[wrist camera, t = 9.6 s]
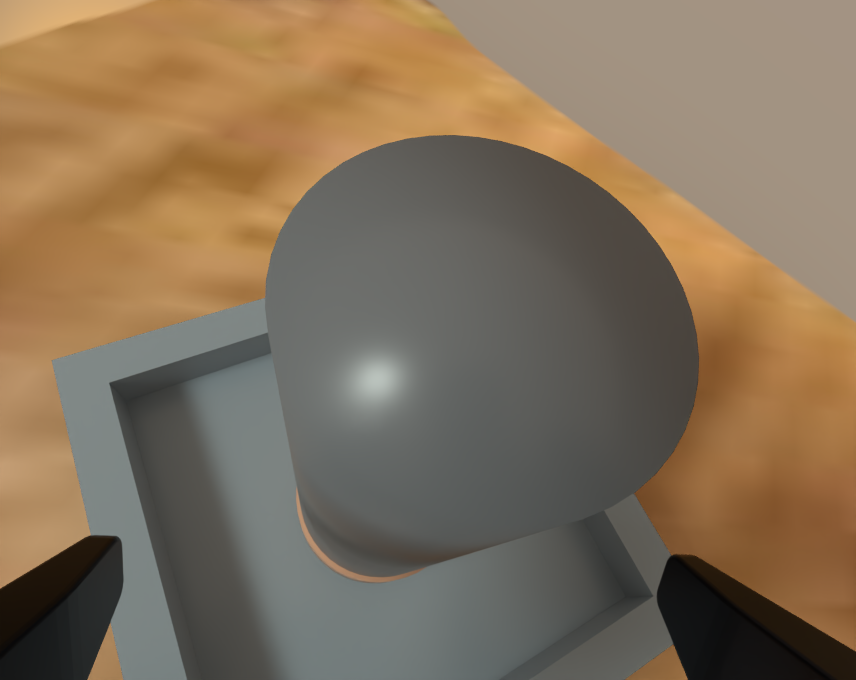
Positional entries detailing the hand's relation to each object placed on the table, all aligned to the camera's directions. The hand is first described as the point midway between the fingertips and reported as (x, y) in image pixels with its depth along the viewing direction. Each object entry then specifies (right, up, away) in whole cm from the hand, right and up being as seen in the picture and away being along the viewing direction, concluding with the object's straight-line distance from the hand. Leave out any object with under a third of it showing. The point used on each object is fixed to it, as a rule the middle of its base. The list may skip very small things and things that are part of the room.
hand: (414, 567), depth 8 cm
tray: (-2, -2, +8) cm, 9 cm away
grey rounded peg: (-1, -1, +7) cm, 8 cm away
